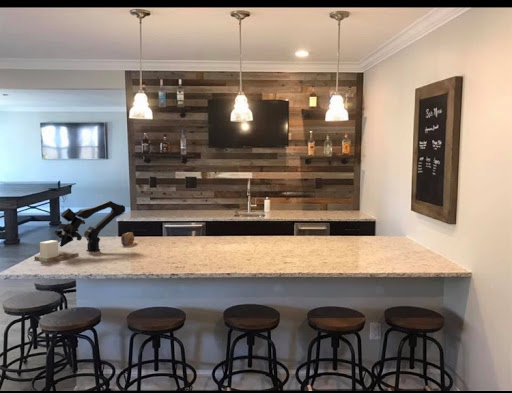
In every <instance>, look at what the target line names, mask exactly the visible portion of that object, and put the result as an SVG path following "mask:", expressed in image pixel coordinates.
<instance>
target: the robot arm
mask: <svg viewBox="0 0 512 393" xmlns="http://www.w3.org/2000/svg"><path fill="white" fill-rule="evenodd" d="M108 208H110V209H111V210H110V212H109V213H108V214H107V215H106V216H105V217H103V218H102V220H100V221H99V222H98V223H97V224H96V225H95V226H89V227H88V228H87V229H86V230H85V231H84V233H83V236H82V235H81V234H80V233H79V231H80V230H79V228H80V226H81V225H86V222H85V219H88V218H90V217H92V216H93V215H94V214H96V213H98V212H101V211H103V210H106V209H108ZM125 212H126V207H125V205H123V204H119V203H116V202H113V201H112V200H111V201H110V200H106V201H104V202H101V203H99V204H97V205H94V206H92V207H86V208H81V209H79V210H78V211H75V212H74V211H73V210H72V209H70V208H69V207H68V208H66V209H65V210H63V211H62V213H61V215H60V216H61V217H62V218H63V219H64V220H65V221H67V222H68V223H59V226H58V229H57V230H55V231H54V235H56V236H57V237H58V238H60V240H61V241H60V242H59V243H60V244H59V247H60V248H61V247H64V246H66V245H68V244H69V243H70V242H73V241H74V238H76V240H77V241H79V242H80V241H81V240H82V238H83V237H84V238H85V239H86V241H87V244H86V246H87V247H86V248H87V249H86V252H97V251H100V250H101V249H100V241H101V238H100V237H99V234H100V232H101V231H102V230H103V229H104V228H105V227H107V225H108V224H109V223H111V222H112V221H113V220H114V219H115V218H116V217H119V216H120V215H122V214H124V213H125ZM69 222H70V223H69Z"/></svg>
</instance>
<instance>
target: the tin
mask: <svg viewBox="0 0 512 393" xmlns="http://www.w3.org/2000/svg"><path fill="white" fill-rule="evenodd" d="M120 241H121V245H122V246H124V247H125V246H126V247H128V246H130V245H132V244H133V243H134V241H135V234H134V232H132V231H129V232H125V233H123V234H122V235H121V237H120Z"/></svg>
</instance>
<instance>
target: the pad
mask: <svg viewBox="0 0 512 393" xmlns="http://www.w3.org/2000/svg"><path fill="white" fill-rule="evenodd" d="M55 257H56V256H55ZM38 261H40V262H45V263H48V262H47V258H42V257H39V260H38Z"/></svg>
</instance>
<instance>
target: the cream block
mask: <svg viewBox="0 0 512 393" xmlns="http://www.w3.org/2000/svg"><path fill="white" fill-rule="evenodd" d="M58 251H59V240H51V239H50V240H46V241H40V242H39V255H40V257H42V258H51V257H55V256H59V255H58Z"/></svg>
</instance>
